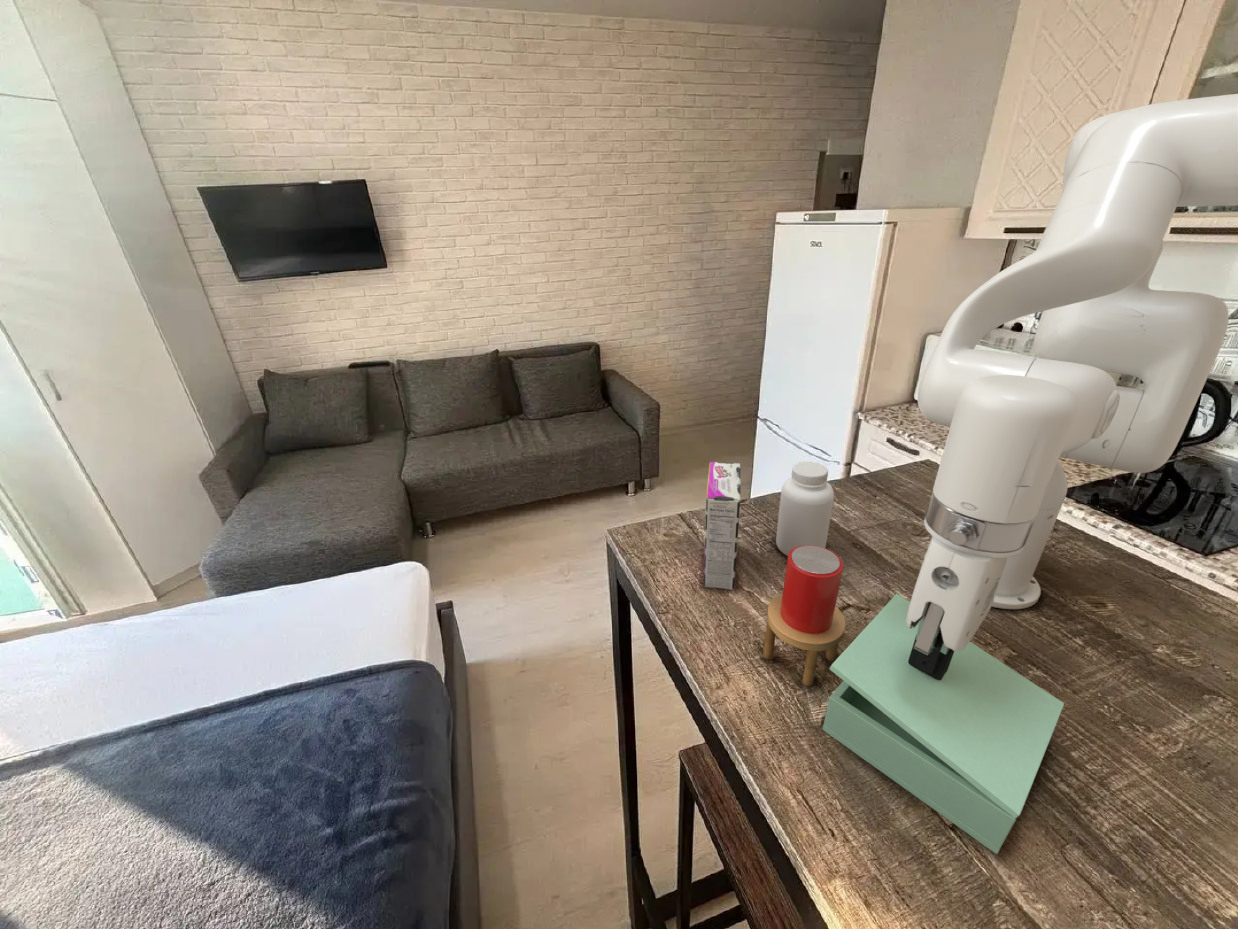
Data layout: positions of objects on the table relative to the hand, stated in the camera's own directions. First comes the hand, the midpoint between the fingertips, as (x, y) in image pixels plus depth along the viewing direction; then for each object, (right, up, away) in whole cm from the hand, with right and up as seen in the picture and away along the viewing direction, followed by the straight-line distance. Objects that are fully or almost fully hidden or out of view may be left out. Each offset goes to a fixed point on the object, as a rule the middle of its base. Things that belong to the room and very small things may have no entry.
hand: (926, 668), depth 53 cm
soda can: (-9, +3, +10) cm, 13 cm away
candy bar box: (-16, +4, +29) cm, 34 cm away
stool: (-9, -4, +13) cm, 16 cm away
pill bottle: (-1, +7, +34) cm, 34 cm away
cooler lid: (+1, -2, 0) cm, 2 cm away
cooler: (+2, -8, +3) cm, 9 cm away
